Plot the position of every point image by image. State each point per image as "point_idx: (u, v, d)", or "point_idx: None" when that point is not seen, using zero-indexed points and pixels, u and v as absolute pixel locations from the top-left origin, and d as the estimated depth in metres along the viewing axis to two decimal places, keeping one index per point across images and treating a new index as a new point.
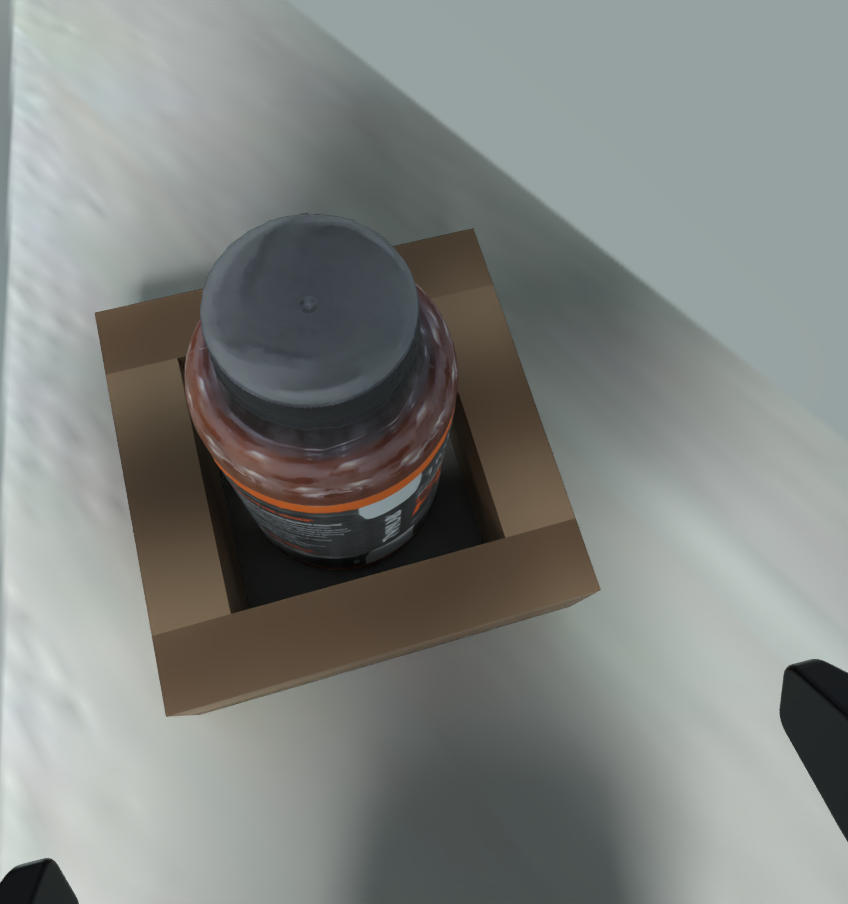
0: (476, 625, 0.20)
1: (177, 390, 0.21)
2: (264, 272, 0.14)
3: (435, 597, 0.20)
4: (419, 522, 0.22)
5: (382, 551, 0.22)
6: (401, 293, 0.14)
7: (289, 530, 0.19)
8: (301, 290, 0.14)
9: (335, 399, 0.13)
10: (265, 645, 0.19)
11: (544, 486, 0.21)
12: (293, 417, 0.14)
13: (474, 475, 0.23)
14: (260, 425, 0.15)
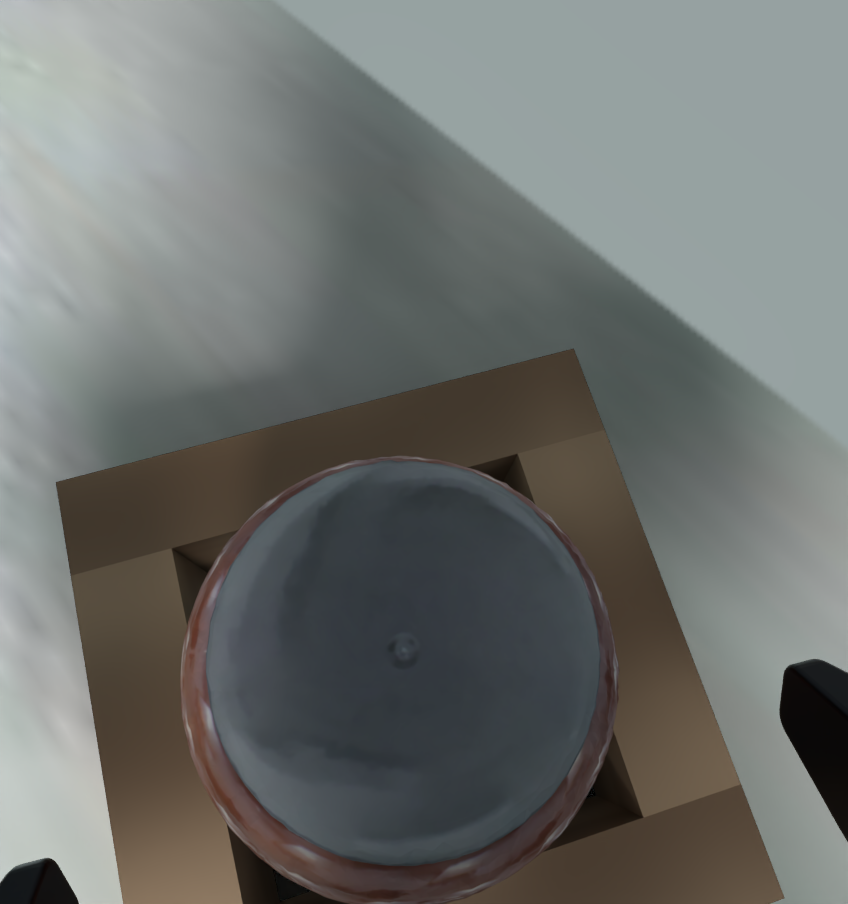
0: None
1: (171, 598, 0.15)
2: (321, 585, 0.08)
3: None
4: None
5: None
6: (569, 622, 0.08)
7: None
8: (389, 620, 0.08)
9: (462, 851, 0.07)
10: None
11: (694, 735, 0.15)
12: None
13: None
14: None
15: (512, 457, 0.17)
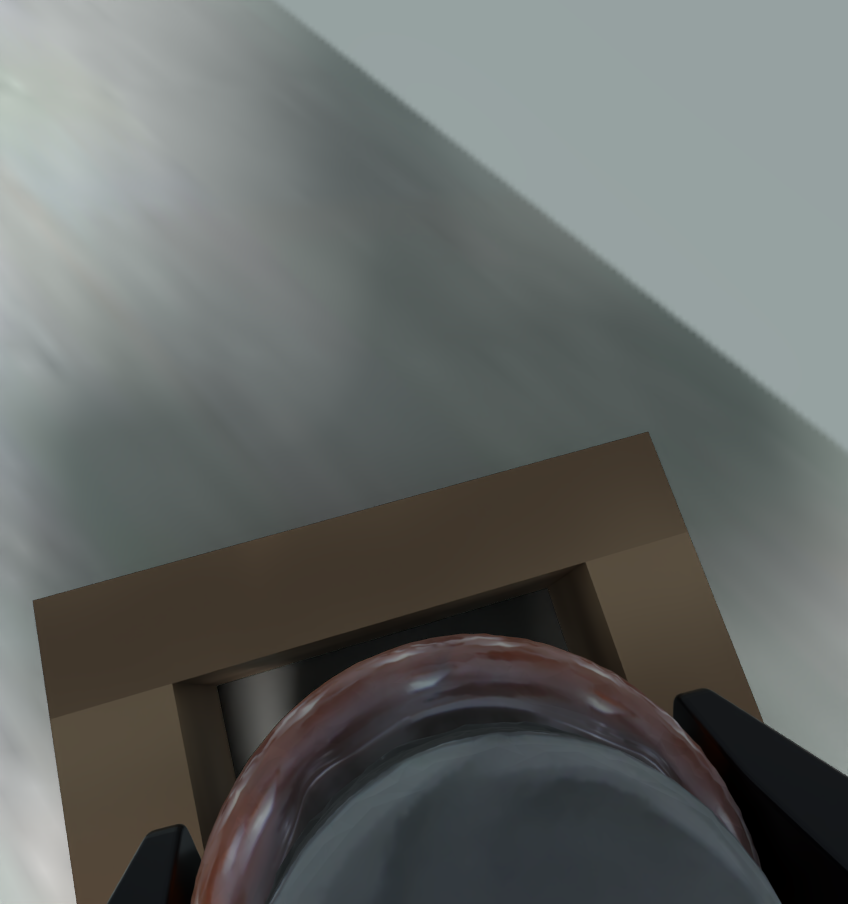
0: None
1: (171, 747, 0.13)
2: None
3: None
4: None
5: None
6: None
7: None
8: None
9: None
10: None
11: None
12: None
13: None
14: None
15: (578, 565, 0.14)
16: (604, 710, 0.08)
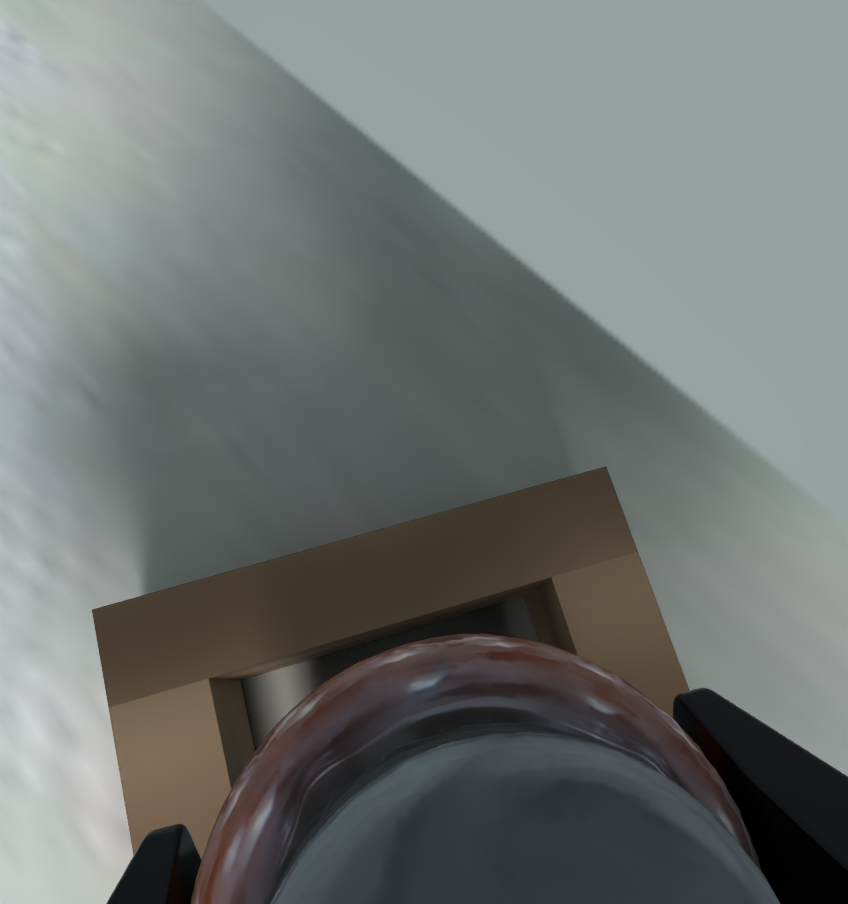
0: None
1: (208, 730, 0.15)
2: None
3: None
4: None
5: None
6: None
7: None
8: None
9: None
10: None
11: None
12: None
13: None
14: None
15: (545, 579, 0.17)
16: (604, 711, 0.08)
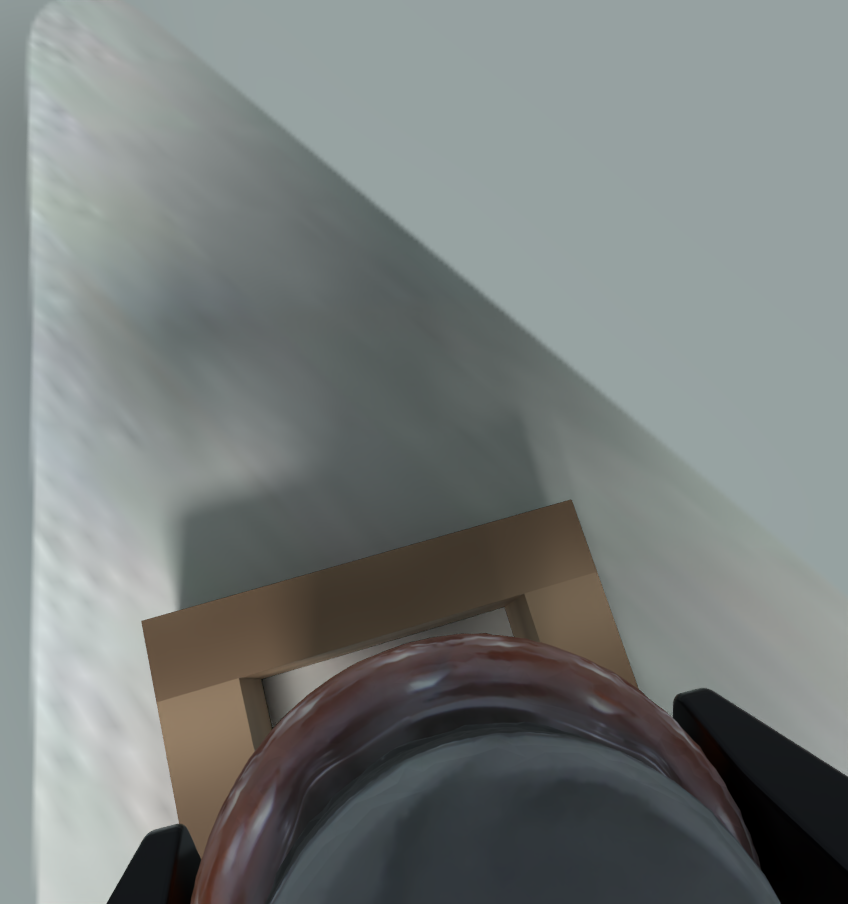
0: None
1: (239, 721, 0.19)
2: None
3: None
4: None
5: None
6: None
7: None
8: None
9: None
10: None
11: None
12: None
13: None
14: None
15: (519, 595, 0.20)
16: (604, 710, 0.08)
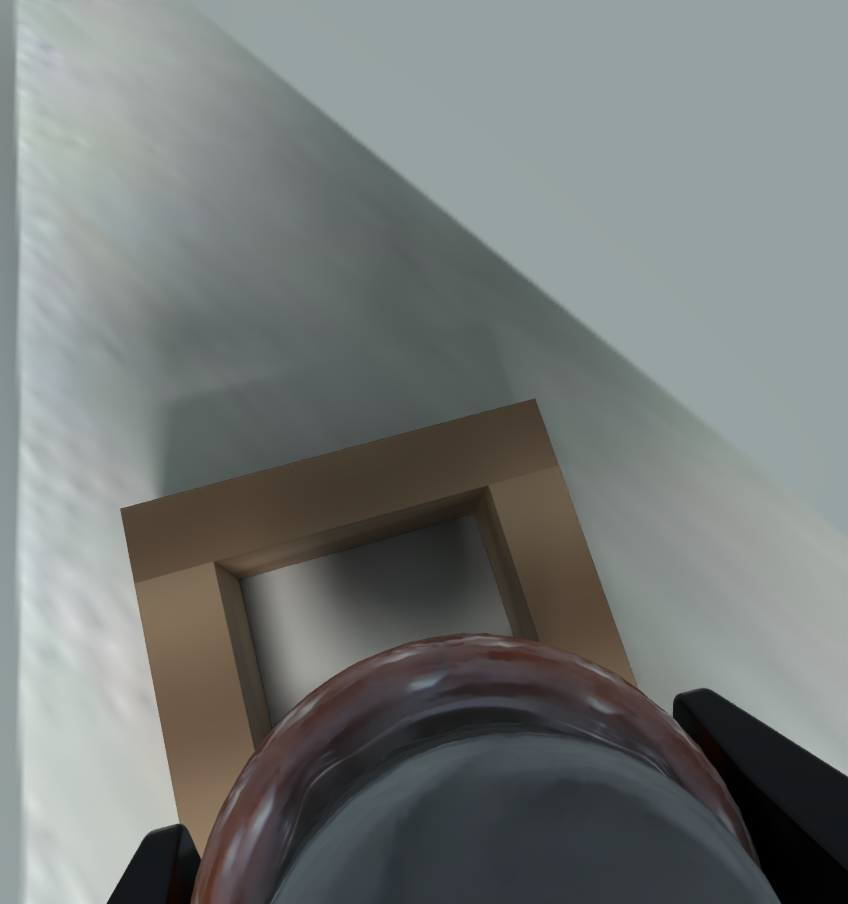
0: None
1: (214, 601, 0.19)
2: None
3: None
4: None
5: None
6: None
7: None
8: None
9: None
10: None
11: None
12: None
13: None
14: None
15: (484, 487, 0.21)
16: (604, 710, 0.08)
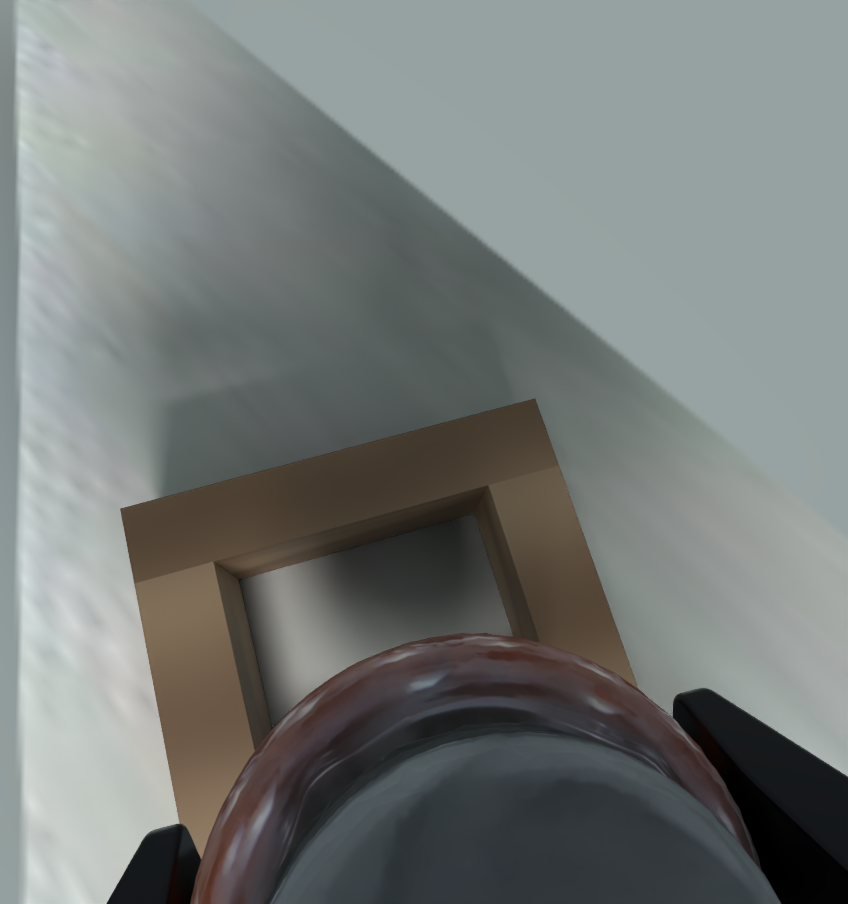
0: None
1: (214, 601, 0.19)
2: None
3: None
4: None
5: None
6: None
7: None
8: None
9: None
10: None
11: None
12: None
13: None
14: None
15: (484, 487, 0.21)
16: (604, 710, 0.08)
